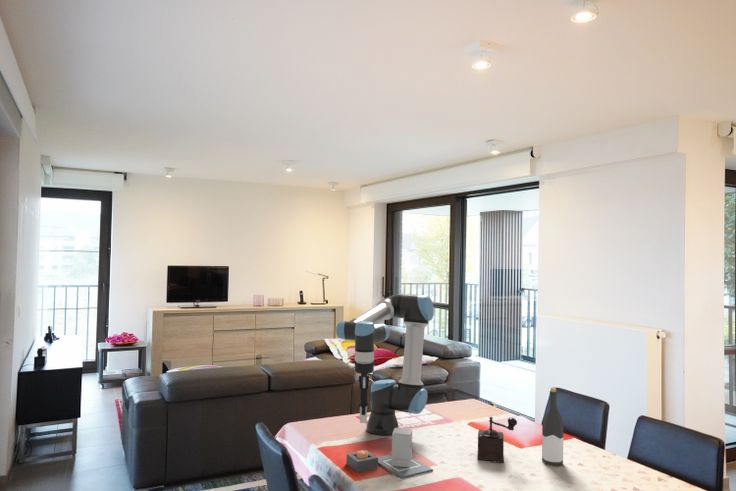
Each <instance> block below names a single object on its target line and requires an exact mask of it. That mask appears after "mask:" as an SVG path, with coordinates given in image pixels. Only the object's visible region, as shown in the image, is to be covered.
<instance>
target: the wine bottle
mask: <svg viewBox="0 0 736 491" xmlns="http://www.w3.org/2000/svg"><path fill="white" fill-rule="evenodd" d="M557 394H558V391H557V388H556V387H554V386H553V387H550V391H549V406H548V409H547V410H546V412H545V414H544V416H543V421H542V425H541V427H542V429H541V431H542V432H541V433H542V434H541V438H542V439H541V462H542V463H544V464H545V465H547V466H551V467H560V466H562V465H563V464H564V422H563V418H562V415H561V413H560V411H559V410H558V408H557Z"/></svg>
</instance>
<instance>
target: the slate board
mask: <svg viewBox="0 0 736 491" xmlns="http://www.w3.org/2000/svg"><path fill="white" fill-rule="evenodd" d="M377 457H378V466H380V467H382V468H383V469H385V470H386V471H388V472H389V473H390V474H391V475H393V476H396V478H397V479H399V480H403V479H407V478H410V477H414V476H415V477H417V476H419V475H423V474H429V473H430V472H431V473H432V472H433V471H434V469H433V468H431V467H430V466H429V465H427V464H425V463H423V462H422V461H420V460H418V459H416V458H414V457H412V460H411V463H410V467H400V466H392V465H391V463H392V453H391V454H388V455H387V454H386V455H382V456H377Z"/></svg>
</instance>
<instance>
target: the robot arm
mask: <svg viewBox="0 0 736 491" xmlns="http://www.w3.org/2000/svg"><path fill="white" fill-rule="evenodd" d="M434 310H435V308H434V303H433V301H432V299H431V297H430V296H428V295H423V294H409V293H408V294H406V293H396V294H393V295H390V296H387V297H385V298H382V299H381V300H379V301H378V302H377V303H376V305H375V306H373V307H372V308H369V309H367V310H366V311H365V312H363V313H361V314H360V315H358V316H356V317H355V318H352V319H351V320H348V321H346V320H343V321H339V322H338V323H337V325H336V328H335V334H336V336H337V338H339V339H340V340H345V341H354V352H353V355H352V356H354V361H355V362H354V372H355V373H357V374H360V375H358V382H359V384H358V385H359V389H360V396H359V397H360V399H359V401H360V402H359V404H358V407H359V423H360V424H366V432H368V433H370V434H373V435H376V436H377V435H378V436H392V433H393V431H394V428H400V427H399V426H400V425H399V422H398V419H397V416H396V411H397V412H401V413H402V412H403V413H408V414H415V415H418V414H421V413H422V412H423V411H424V409H425V407H426V404H427V401H428V390H427V389H426V388H425V387H424V383H423V381H422V379H421V378H422V368H423V353H424V341H425V340H424V339H425V329H426V327H427V326H428V325H429V322H430V321H432V320H433V317H434V313H435V311H434ZM393 318H394V319H395V318H396V319H403V324H404V325H405V326H406V327H405V339H404V340H405V341H404V351H403V352H404V353H403V360H402V361H403V362H402V365H403V366H402V374H401V376H402V378H400V379H399V380H398V384H397V381H396V380H395V379H391V378H390V379H379V380H375V381H373V382H372V384H371V386H370V387H371V388H370V414H369V416H368V405H369V402H368V390H369V383H370V376H369V375H368V374H372V373H373V372H374V370H375V368H374V367H375V366H374V365H375V363H374V361H375V345H377V344H381V343H383V342H385V341H387V340H388V339H389V337H390V336H391V335H390V334H391V333H390V328H389V327H388V325H387V324H385V323H382V322H383V321H385V320H387V321H388V320H391V319H393Z"/></svg>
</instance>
